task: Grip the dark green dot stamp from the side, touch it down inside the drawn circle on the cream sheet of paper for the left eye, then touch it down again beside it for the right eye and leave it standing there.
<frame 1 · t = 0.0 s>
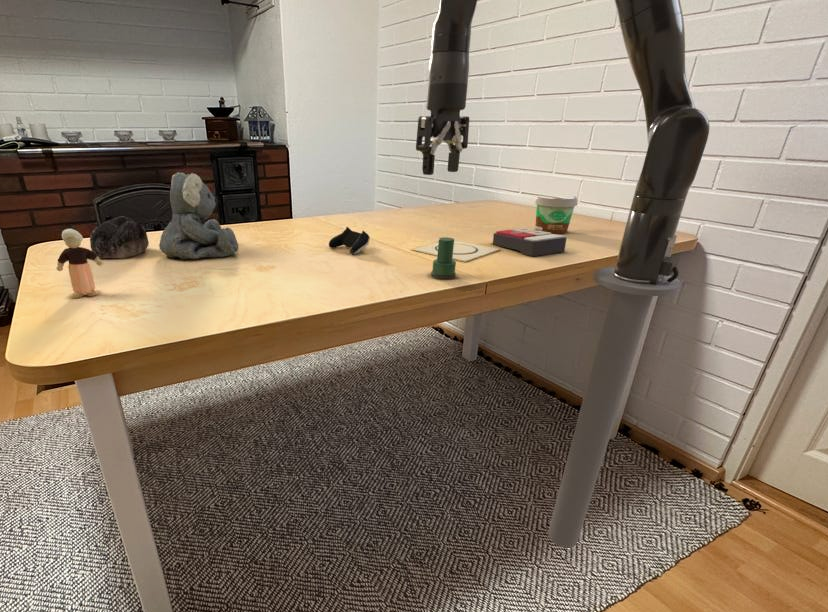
hand: (440, 173, 96), 20 cm above the table, tool pointing down, fingers open, 8 cm apart
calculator: (526, 248, 123), on the table
koala plush: (198, 254, 120), on the table
dark grey furry dome: (121, 254, 120), on the table
grandmother figurine: (88, 295, 91), on the table
dot stamp: (443, 276, 101), on the table
gaming controller: (350, 250, 122), on the table
food container: (554, 233, 139), on the table
paper sheet: (456, 250, 121), on the table
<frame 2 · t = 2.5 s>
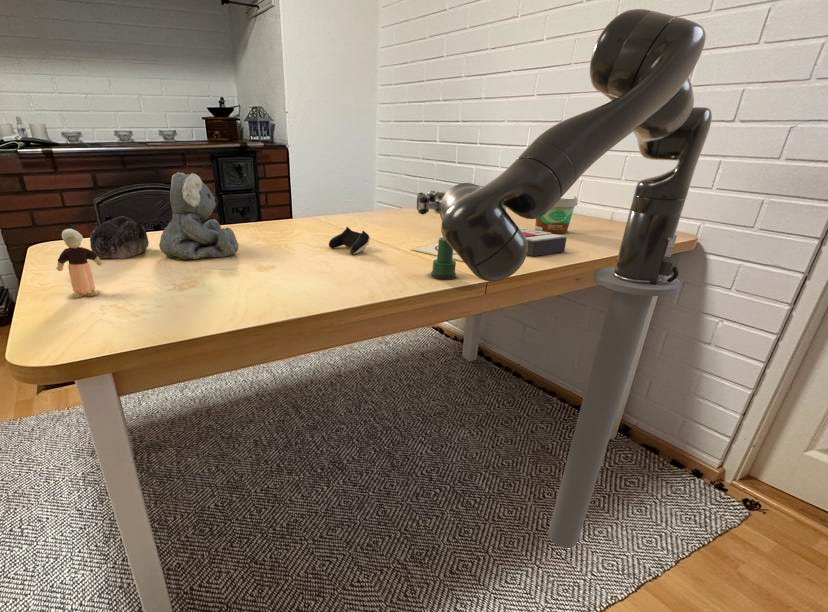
hand: (456, 197, 83), 18 cm above the table, tool horizontal, fingers open, 8 cm apart
nothing on the table moved.
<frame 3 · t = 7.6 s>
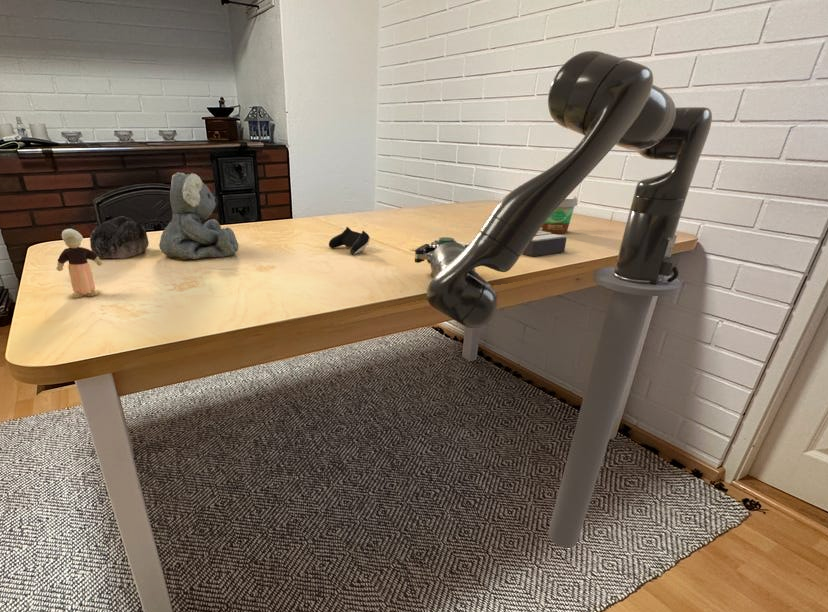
hand: (444, 245, 101), 6 cm above the table, tool horizontal, fingers closed on dot stamp, 3 cm apart
dot stamp: (443, 276, 101), on the table, touching gripper
everything else where it was.
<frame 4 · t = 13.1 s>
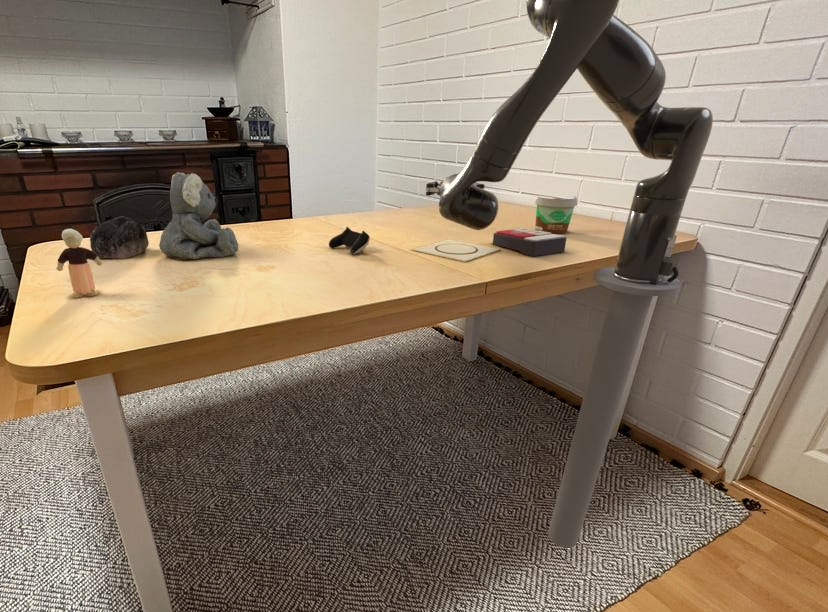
hand: (451, 185, 116), 16 cm above the table, tool horizontal, fingers closed on dot stamp, 3 cm apart
dot stamp: (449, 211, 116), point 10 cm above the table, touching gripper
everything else where it was.
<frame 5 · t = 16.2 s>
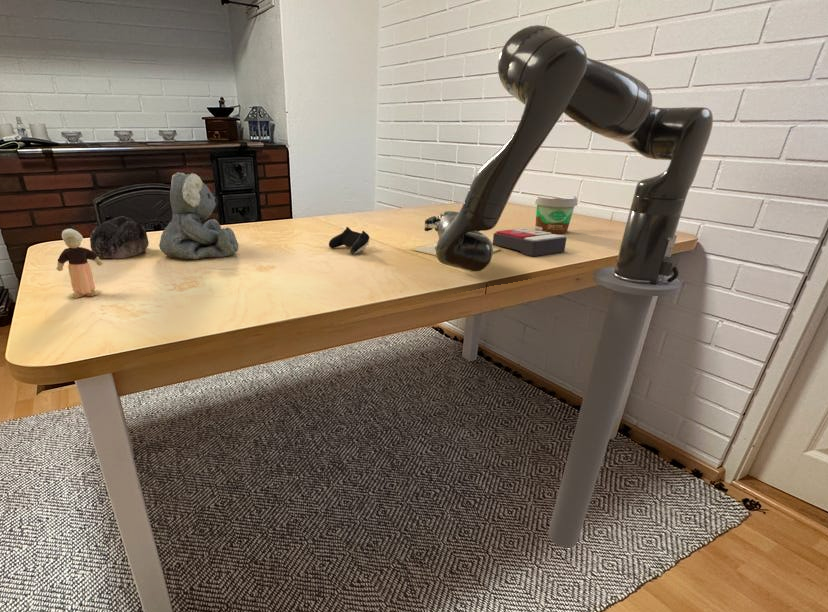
hand: (449, 218, 120), 8 cm above the table, tool horizontal, fingers closed on dot stamp, 3 cm apart
dot stamp: (447, 244, 120), point 2 cm above the table, touching gripper
everything else where it was.
when the fingers open (6 cm above the table, at t = 18.7 s): dot stamp stays where it is, resting on paper sheet.
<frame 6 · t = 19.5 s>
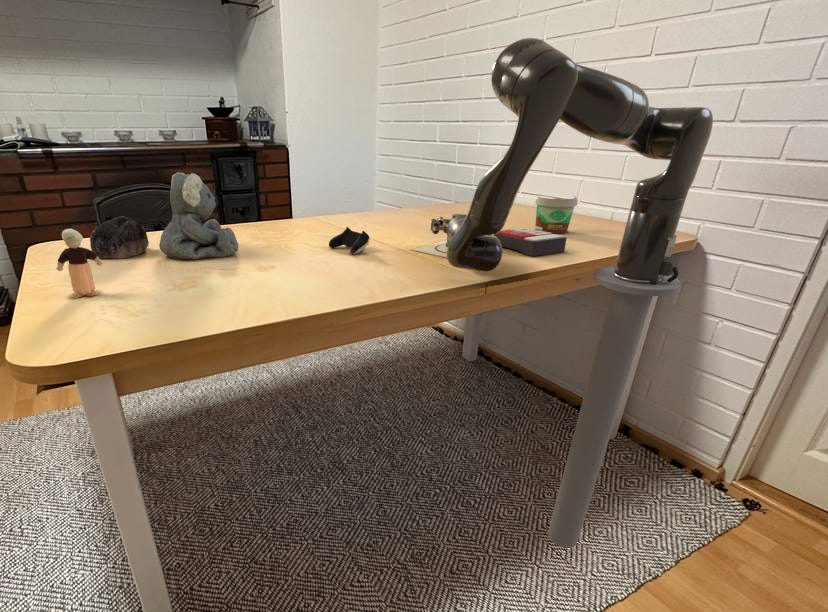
hand: (457, 221, 122), 7 cm above the table, tool horizontal, fingers open, 8 cm apart
dot stamp: (455, 246, 123), resting on paper sheet
everything else where it was.
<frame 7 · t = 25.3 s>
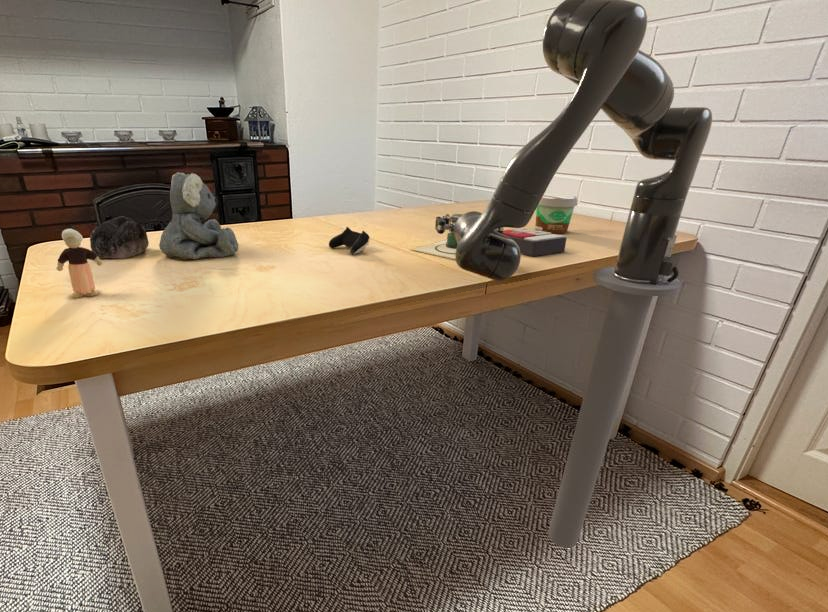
hand: (465, 218, 108), 10 cm above the table, tool horizontal, fingers open, 8 cm apart
nothing on the table moved.
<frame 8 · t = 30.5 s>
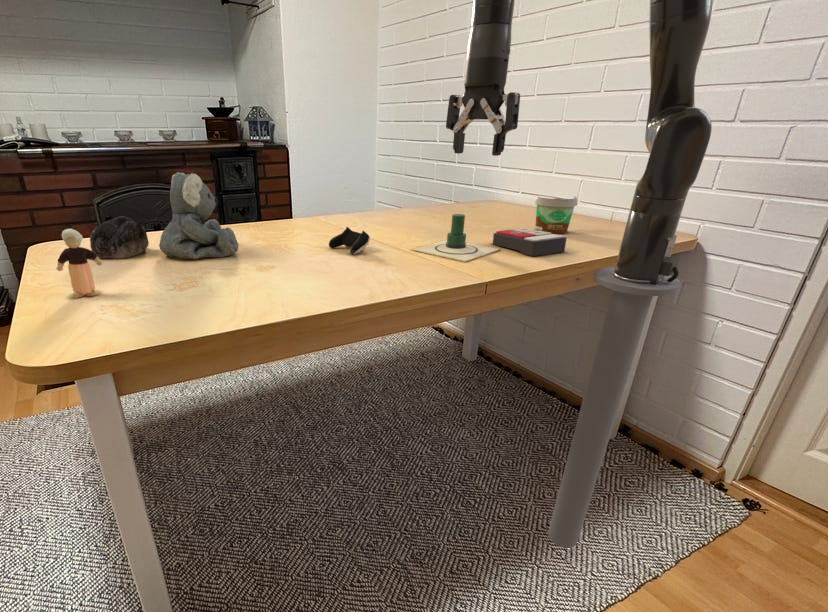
hand: (477, 154, 92), 24 cm above the table, tool pointing down, fingers open, 8 cm apart
nothing on the table moved.
at the end: dot stamp inside the target area on the paper sheet (2.0 cm from its centre), point 0.4 cm above the paper sheet's base; dot stamp tilted 0°; the gripper is holding nothing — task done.
